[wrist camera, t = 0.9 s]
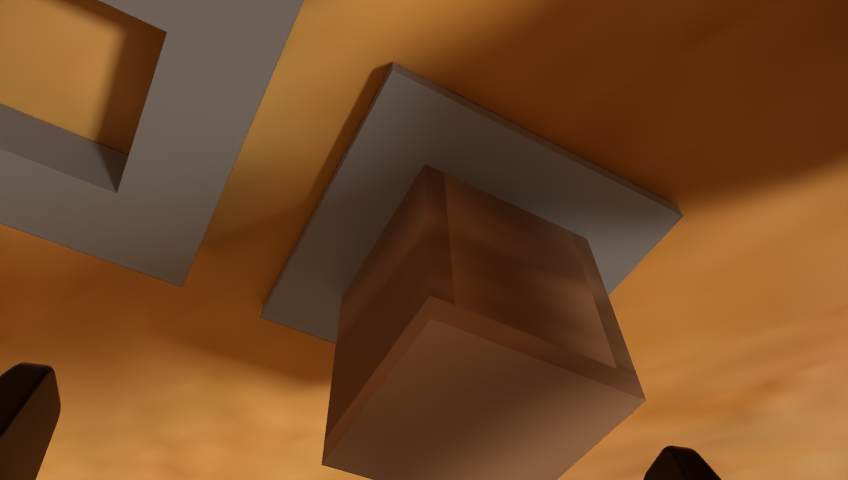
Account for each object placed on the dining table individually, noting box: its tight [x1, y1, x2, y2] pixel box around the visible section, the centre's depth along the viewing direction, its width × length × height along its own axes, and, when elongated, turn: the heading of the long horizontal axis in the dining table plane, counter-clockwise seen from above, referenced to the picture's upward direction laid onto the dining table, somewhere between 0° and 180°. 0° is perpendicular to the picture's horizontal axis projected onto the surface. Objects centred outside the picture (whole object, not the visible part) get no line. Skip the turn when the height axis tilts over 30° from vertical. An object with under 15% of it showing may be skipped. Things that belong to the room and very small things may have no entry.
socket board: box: [0, 0, 304, 287], centre depth 18 cm, size 11×11×2 cm
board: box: [260, 63, 683, 344], centre depth 22 cm, size 11×11×6 cm
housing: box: [322, 164, 646, 480], centre depth 21 cm, size 6×6×7 cm
